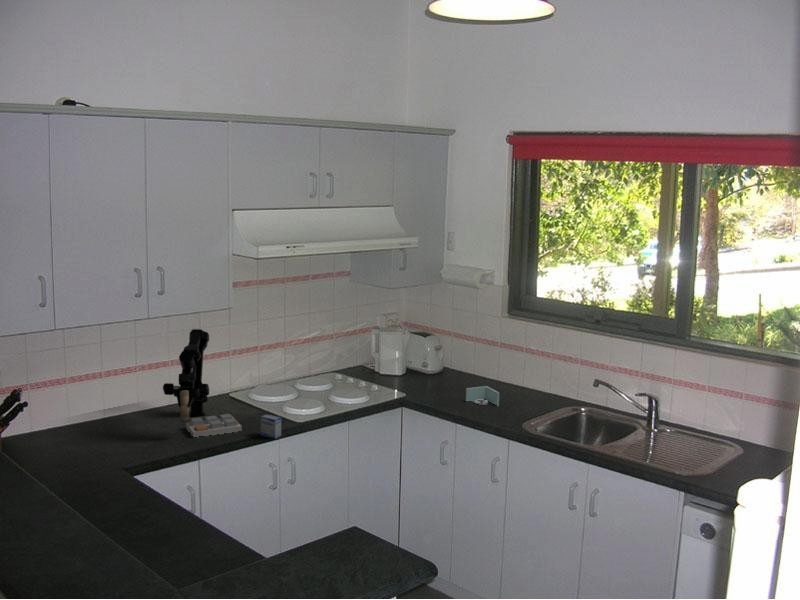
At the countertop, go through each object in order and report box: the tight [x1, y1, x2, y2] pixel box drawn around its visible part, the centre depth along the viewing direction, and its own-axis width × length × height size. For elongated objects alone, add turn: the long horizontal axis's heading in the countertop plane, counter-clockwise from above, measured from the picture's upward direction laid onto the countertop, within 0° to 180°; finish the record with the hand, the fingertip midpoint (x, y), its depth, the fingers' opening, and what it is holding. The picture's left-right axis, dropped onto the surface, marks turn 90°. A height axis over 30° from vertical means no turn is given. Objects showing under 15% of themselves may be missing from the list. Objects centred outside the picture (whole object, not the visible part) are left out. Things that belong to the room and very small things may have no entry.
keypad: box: [185, 413, 243, 438], centre depth 362 cm, size 13×21×5 cm, turn 118°
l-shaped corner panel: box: [465, 385, 500, 407], centre depth 410 cm, size 12×12×8 cm
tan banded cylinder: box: [179, 390, 190, 423], centre depth 349 cm, size 4×4×13 cm
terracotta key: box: [194, 425, 207, 432], centre depth 356 cm, size 4×4×3 cm
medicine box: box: [260, 414, 282, 440], centre depth 357 cm, size 8×4×9 cm, turn 62°
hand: (184, 407), depth 348 cm, fingers closed on tan banded cylinder, 3 cm apart
